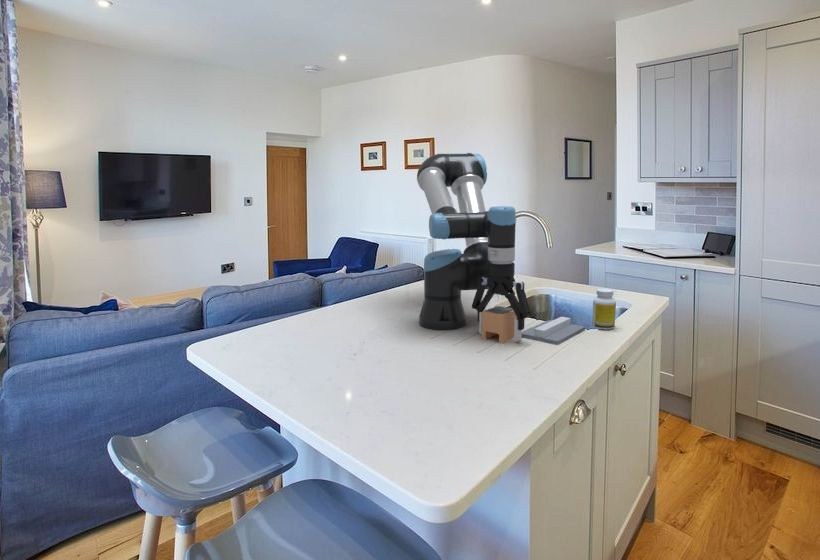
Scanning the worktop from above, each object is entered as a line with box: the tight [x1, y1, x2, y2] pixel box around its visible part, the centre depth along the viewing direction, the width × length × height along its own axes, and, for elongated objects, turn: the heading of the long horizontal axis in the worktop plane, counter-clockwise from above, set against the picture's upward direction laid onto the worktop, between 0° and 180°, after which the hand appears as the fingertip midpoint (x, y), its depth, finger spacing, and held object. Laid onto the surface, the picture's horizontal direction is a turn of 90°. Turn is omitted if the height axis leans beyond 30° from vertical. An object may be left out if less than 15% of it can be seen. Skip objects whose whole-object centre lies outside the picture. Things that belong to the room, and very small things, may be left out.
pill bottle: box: [591, 288, 617, 331], centre depth 152 cm, size 6×6×12 cm
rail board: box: [522, 316, 586, 346], centre depth 148 cm, size 12×18×3 cm, turn 138°
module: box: [481, 305, 517, 344], centre depth 145 cm, size 7×8×8 cm
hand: (499, 336), depth 146 cm, fingers open, 11 cm apart
